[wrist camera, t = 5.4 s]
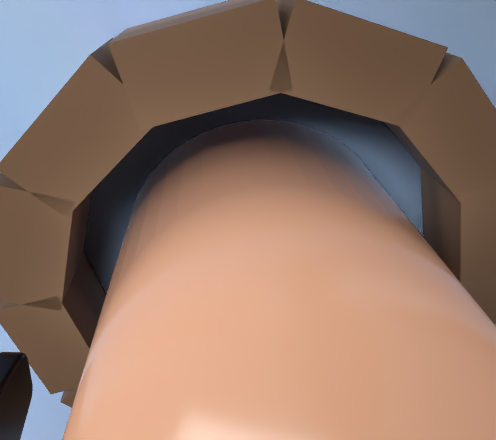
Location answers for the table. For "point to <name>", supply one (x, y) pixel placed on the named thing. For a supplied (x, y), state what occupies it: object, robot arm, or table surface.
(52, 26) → the table surface
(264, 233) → the peach rounded piece
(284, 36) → the collar
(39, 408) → the table surface
